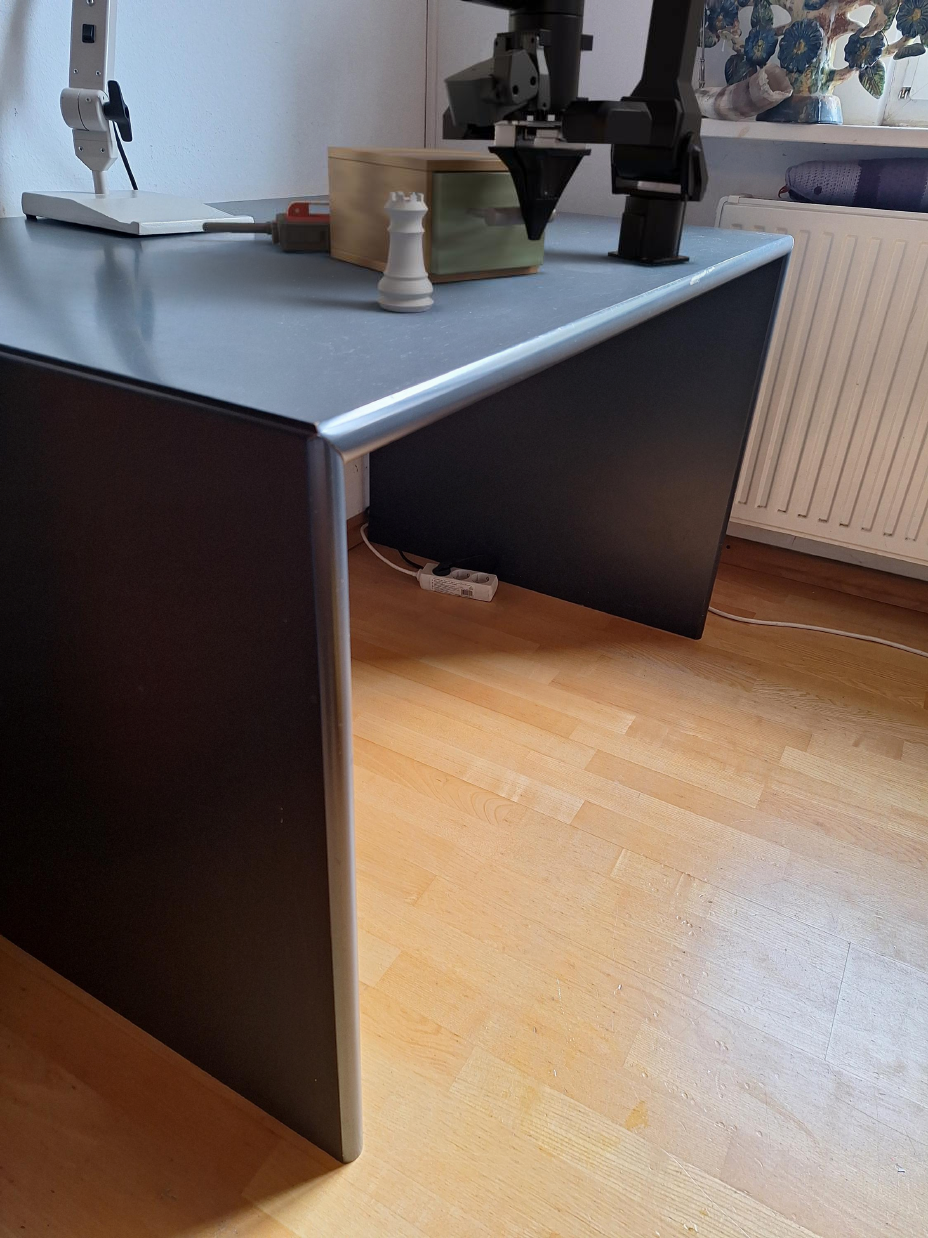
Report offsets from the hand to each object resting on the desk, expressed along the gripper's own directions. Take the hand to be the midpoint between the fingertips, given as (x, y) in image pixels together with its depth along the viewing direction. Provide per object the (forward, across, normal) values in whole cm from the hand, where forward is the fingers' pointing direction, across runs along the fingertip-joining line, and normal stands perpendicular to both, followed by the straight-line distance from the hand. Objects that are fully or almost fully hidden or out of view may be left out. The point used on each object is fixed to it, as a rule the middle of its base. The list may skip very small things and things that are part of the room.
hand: (533, 240), depth 73 cm
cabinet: (+4, -14, 0) cm, 15 cm away
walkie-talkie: (+3, -29, -6) cm, 30 cm away
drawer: (+3, -11, 0) cm, 11 cm away
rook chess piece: (+4, +1, -14) cm, 15 cm away
